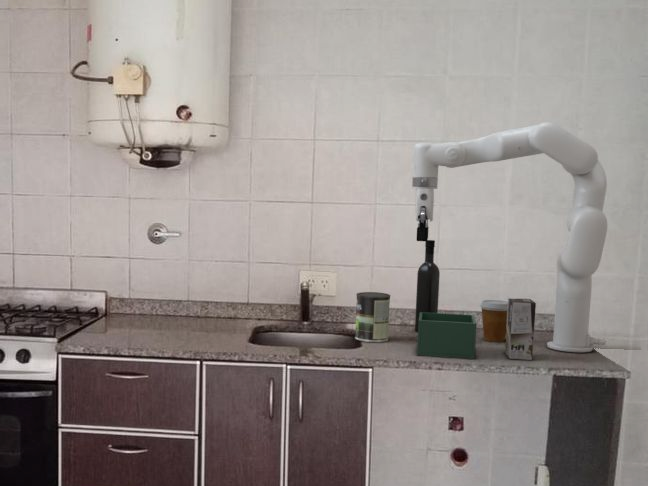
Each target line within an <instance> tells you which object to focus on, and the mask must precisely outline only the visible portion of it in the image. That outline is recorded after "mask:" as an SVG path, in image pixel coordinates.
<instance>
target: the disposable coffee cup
mask: <svg viewBox="0 0 648 486" xmlns="http://www.w3.org/2000/svg"><path fill="white" fill-rule="evenodd" d="M479 306H480V309H481V319H482V334H483V340H484V341H488V342H492V343H494V342H495V343H503V342H506V327H507V309H508V300H497V299H485V300H482V301H481V304H479Z"/></svg>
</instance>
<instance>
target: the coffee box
mask: <svg viewBox="0 0 648 486" xmlns="http://www.w3.org/2000/svg"><path fill="white" fill-rule="evenodd" d="M507 302H508V309H507V327H506V337H505V347H504V354H505V355H506V356H507V358H508V359H509V360H523V361H532V360H533V350H534V335H535V323H536V308H537V303H536V302H535V301H534V300H533V299H531V298H507Z"/></svg>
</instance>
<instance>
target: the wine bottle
mask: <svg viewBox="0 0 648 486" xmlns="http://www.w3.org/2000/svg"><path fill="white" fill-rule="evenodd" d="M424 243H425V244H424V246H425V250H424V262H423V263H421V265H420V266H419V267H418V270H417V276H416V295H415V297H416V300H415V319H414V331H415V332H417V333H418V324H419V315H420V312H428V313H439V311H438V310H439V296H440V295H439V294H440V293H439V292H440V274H441V273H440V269H439V267H438V265H437V264H436V263H434V260H435V259H434V258H435V247H436V246H435V245H436V240H434V239H427V241H424Z"/></svg>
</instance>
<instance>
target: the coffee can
mask: <svg viewBox="0 0 648 486" xmlns="http://www.w3.org/2000/svg"><path fill="white" fill-rule="evenodd" d="M390 303H391V294H389V293H386V292H379V291H377V292H375V291H362V292H357V293H356V305H355V306H356V309H355V334H354V335H355V336H354V340H356V341H358V342H359V341H360V342H365V343H385V342H388V341H389V328H390V327H389V326H390V325H389V324H390Z"/></svg>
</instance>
